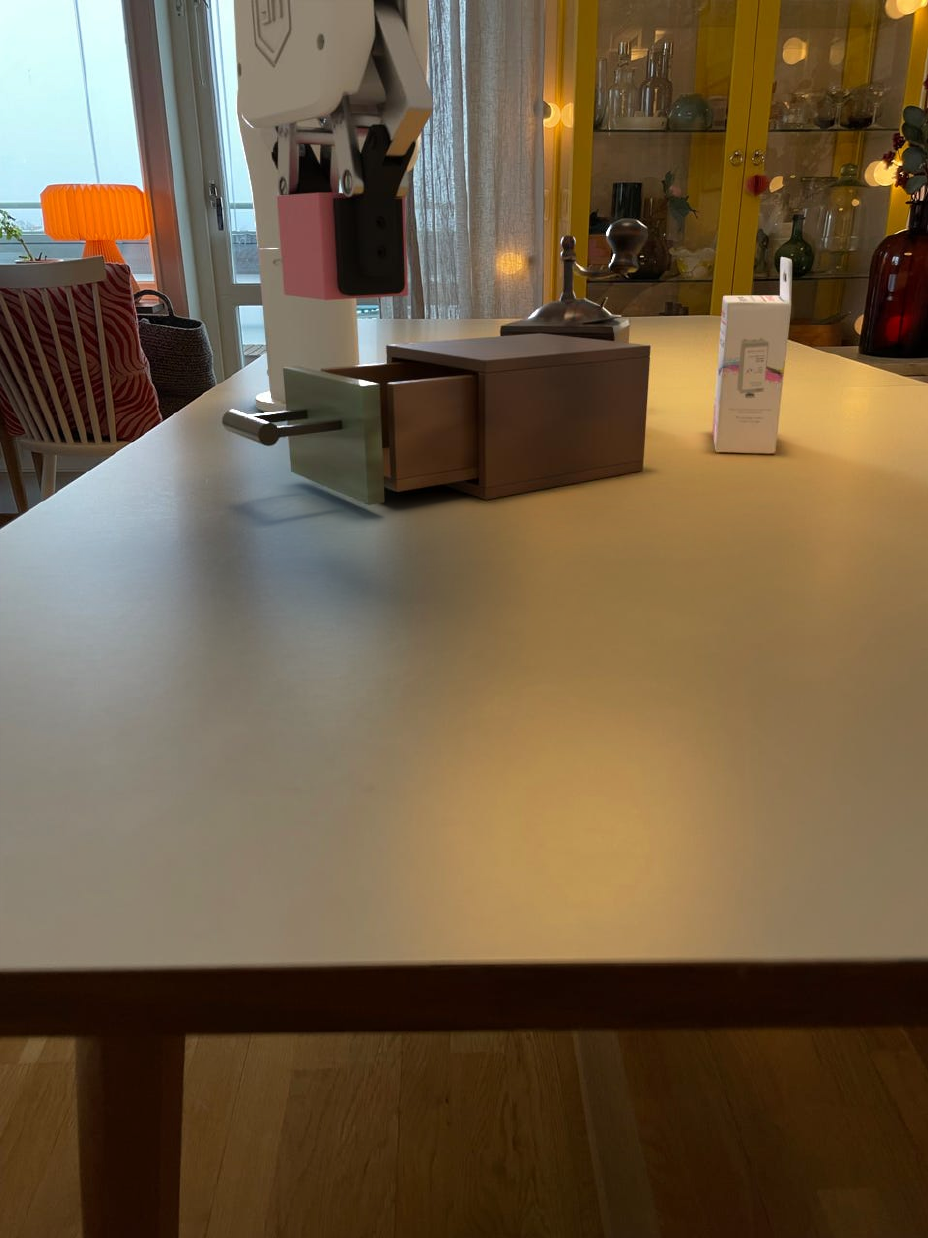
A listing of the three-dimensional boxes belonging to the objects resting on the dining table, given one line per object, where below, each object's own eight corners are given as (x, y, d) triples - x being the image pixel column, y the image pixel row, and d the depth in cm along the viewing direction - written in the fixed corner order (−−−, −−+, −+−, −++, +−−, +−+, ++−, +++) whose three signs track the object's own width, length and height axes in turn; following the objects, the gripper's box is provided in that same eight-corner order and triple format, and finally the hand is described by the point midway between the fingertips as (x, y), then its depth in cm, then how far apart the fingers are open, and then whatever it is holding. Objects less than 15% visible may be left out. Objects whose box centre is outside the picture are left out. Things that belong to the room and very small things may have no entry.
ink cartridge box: (708, 433, 84) (724, 256, 78) (766, 434, 83) (786, 256, 77) (712, 453, 76) (730, 258, 70) (776, 455, 75) (799, 258, 69)
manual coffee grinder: (618, 438, 82) (630, 214, 75) (496, 432, 85) (497, 216, 78) (641, 410, 95) (652, 218, 89) (535, 405, 99) (538, 220, 92)
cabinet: (485, 500, 63) (485, 360, 59) (390, 466, 72) (385, 344, 69) (643, 470, 70) (651, 345, 67) (538, 443, 80) (540, 333, 77)
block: (283, 294, 45) (276, 195, 44) (363, 291, 48) (359, 196, 46) (325, 299, 42) (318, 192, 40) (408, 295, 44) (405, 193, 43)
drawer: (283, 520, 55) (273, 394, 53) (214, 483, 64) (202, 373, 61) (537, 475, 65) (539, 367, 63) (447, 448, 74) (446, 353, 71)
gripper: (160, -144, 42) (206, 286, 49) (332, -308, 29) (361, 306, 36) (312, -113, 46) (334, 281, 53) (522, -246, 33) (515, 297, 40)
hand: (345, 286), depth 45 cm, fingers closed on block, 4 cm apart
